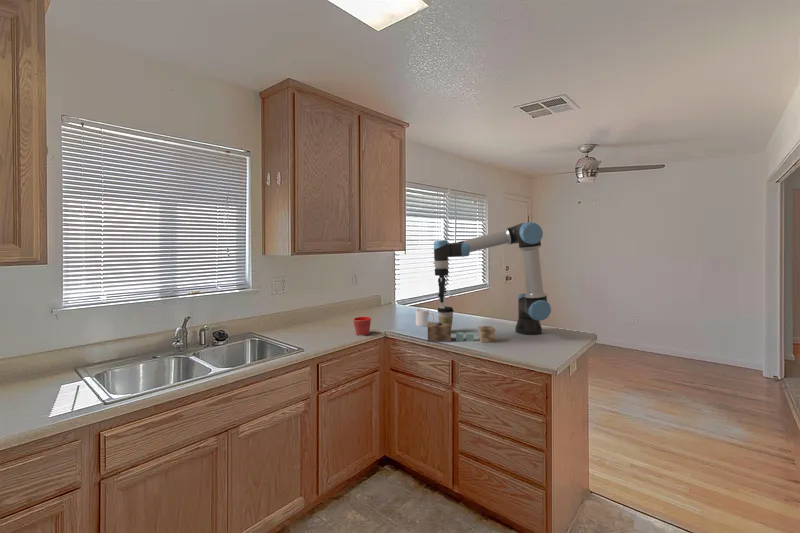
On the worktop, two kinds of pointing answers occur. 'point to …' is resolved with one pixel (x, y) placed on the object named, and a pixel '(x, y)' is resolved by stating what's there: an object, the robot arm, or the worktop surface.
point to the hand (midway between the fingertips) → (442, 306)
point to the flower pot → (362, 325)
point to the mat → (438, 341)
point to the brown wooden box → (439, 332)
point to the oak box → (486, 334)
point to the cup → (423, 317)
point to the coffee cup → (445, 315)
